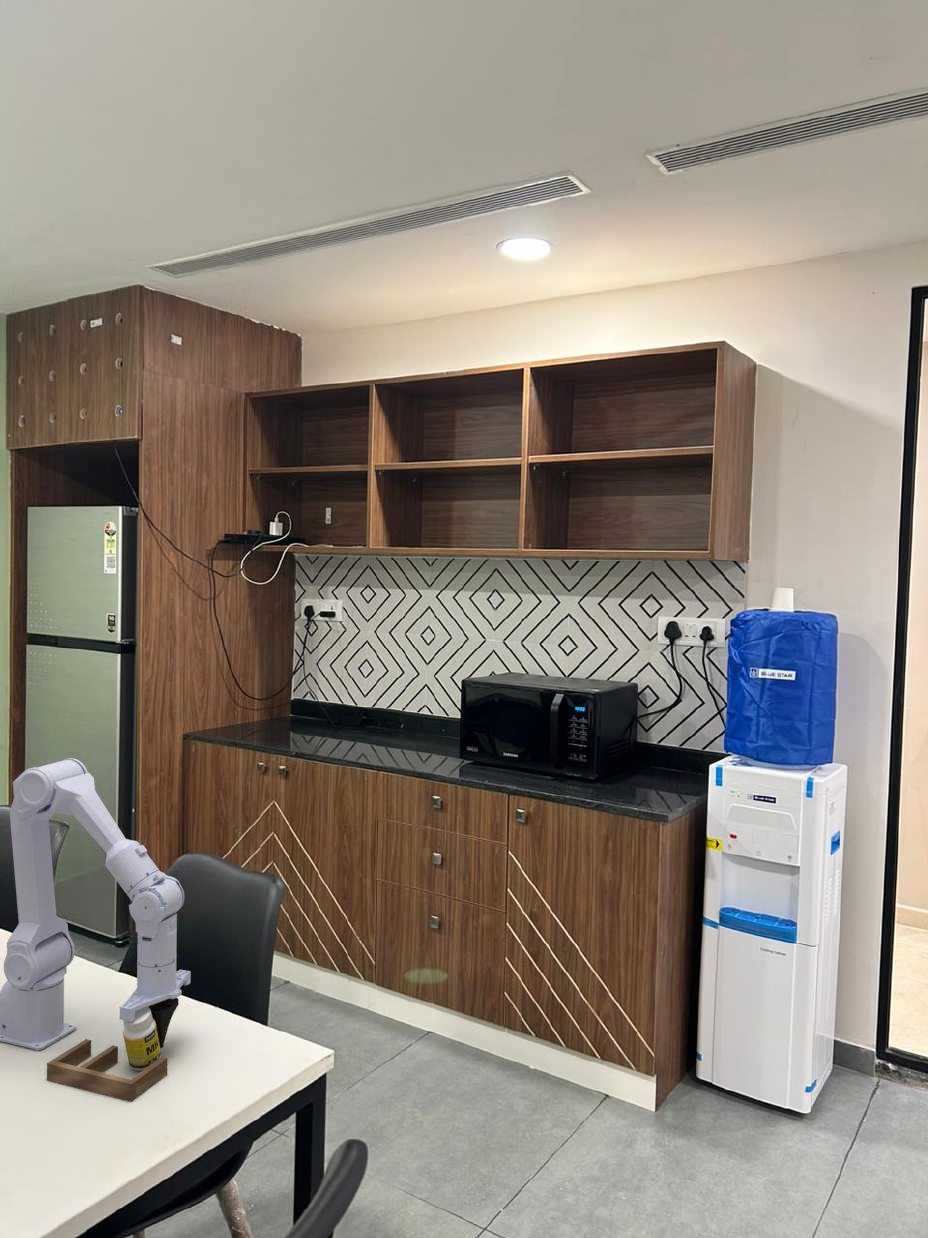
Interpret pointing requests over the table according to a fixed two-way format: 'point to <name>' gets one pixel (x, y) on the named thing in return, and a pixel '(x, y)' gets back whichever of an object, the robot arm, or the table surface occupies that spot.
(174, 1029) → the table surface
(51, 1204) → the table surface
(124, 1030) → the supplement bottle
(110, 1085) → the frame
